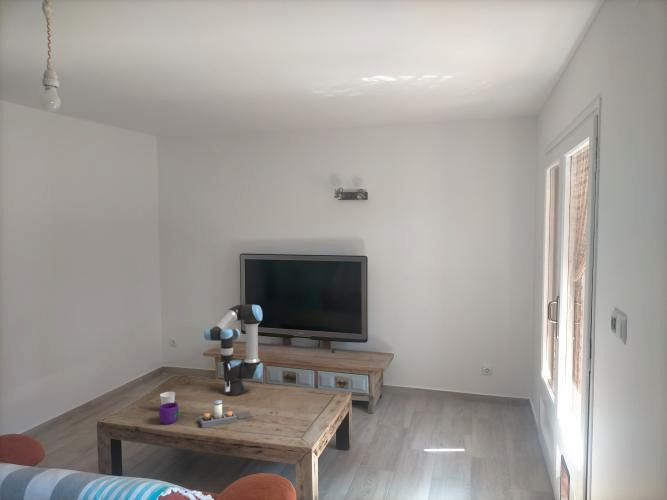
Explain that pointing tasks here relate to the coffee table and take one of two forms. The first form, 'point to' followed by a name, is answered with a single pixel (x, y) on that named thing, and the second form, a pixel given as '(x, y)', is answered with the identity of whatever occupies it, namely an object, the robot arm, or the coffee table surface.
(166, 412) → the mug
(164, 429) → the coffee table surface
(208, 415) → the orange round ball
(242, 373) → the robot arm
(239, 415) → the mat
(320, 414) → the coffee table surface
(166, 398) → the cup
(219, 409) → the cylinder
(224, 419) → the tray
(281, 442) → the coffee table surface
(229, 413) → the orange oval ball
